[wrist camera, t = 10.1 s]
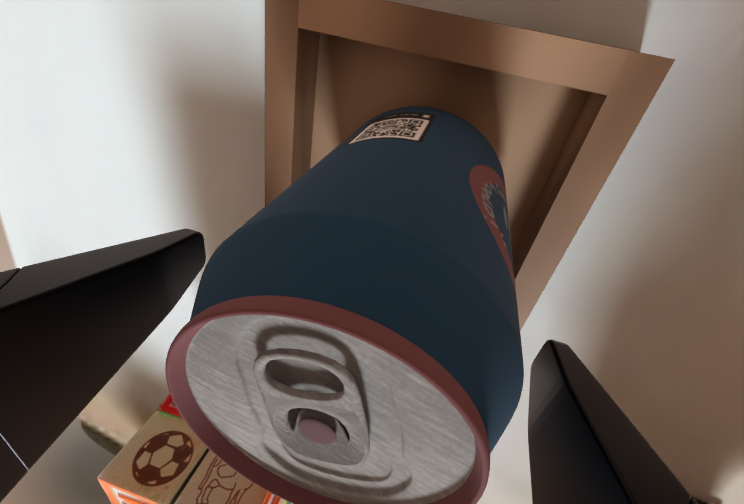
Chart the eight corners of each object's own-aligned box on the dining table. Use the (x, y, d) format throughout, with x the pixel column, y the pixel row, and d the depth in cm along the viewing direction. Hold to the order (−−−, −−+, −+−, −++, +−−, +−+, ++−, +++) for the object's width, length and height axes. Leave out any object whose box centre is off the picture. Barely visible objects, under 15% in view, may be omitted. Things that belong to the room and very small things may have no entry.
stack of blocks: (332, 477, 34) (267, 666, 24) (271, 455, 35) (184, 628, 25) (353, 310, 22) (243, 546, 12) (260, 284, 23) (87, 483, 13)
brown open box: (640, 52, 12) (675, 59, 10) (505, 314, 19) (507, 352, 17) (301, -17, 14) (265, -24, 12) (289, 248, 21) (265, 276, 19)
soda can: (498, 255, 17) (512, 582, 7) (355, 248, 19) (210, 498, 9) (510, 92, 13) (577, 294, 3) (333, 105, 15) (54, 258, 5)
